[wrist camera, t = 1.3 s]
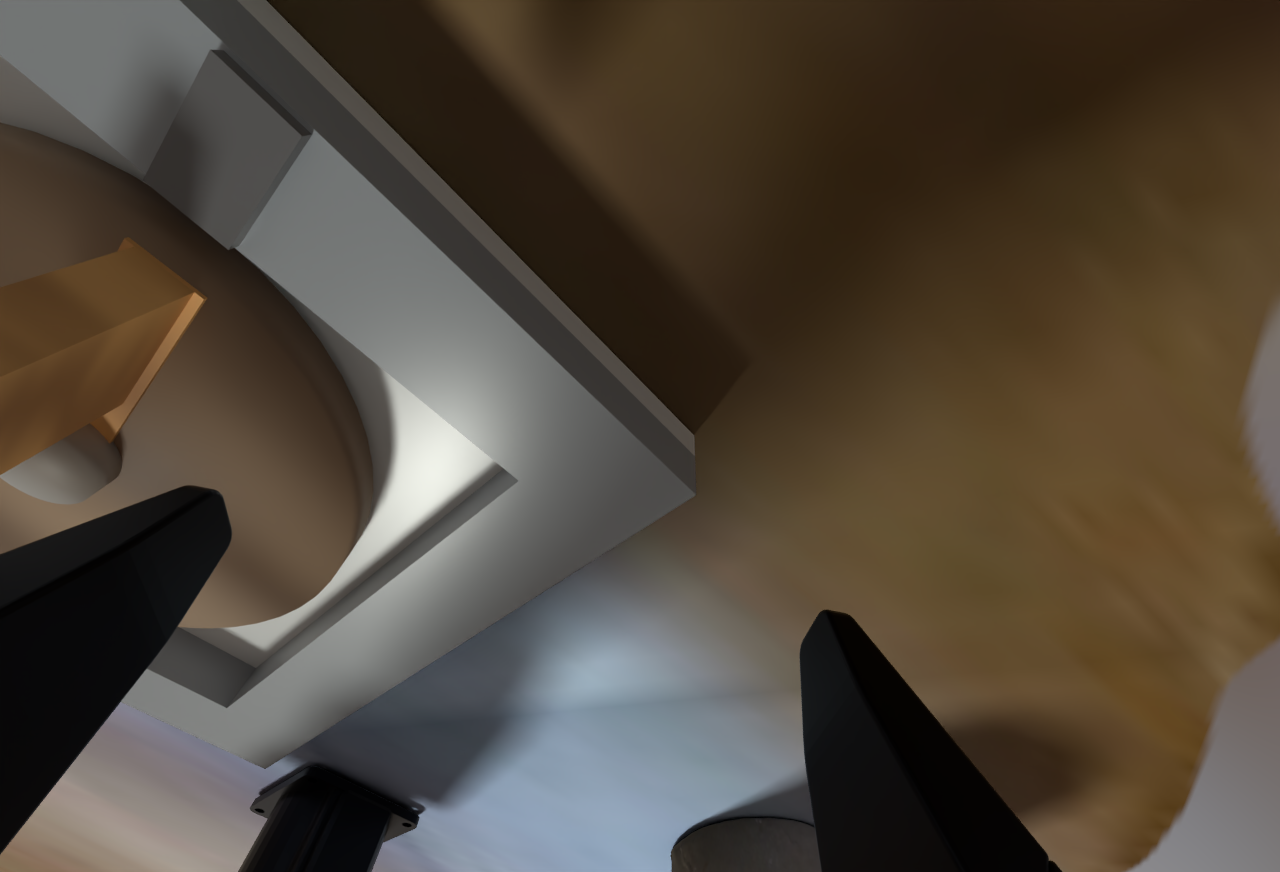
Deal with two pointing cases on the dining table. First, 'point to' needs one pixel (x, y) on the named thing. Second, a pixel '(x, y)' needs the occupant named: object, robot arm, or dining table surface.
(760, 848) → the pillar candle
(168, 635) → the robot arm
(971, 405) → the dining table surface
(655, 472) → the dial plate
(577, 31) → the dining table surface
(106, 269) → the dial
